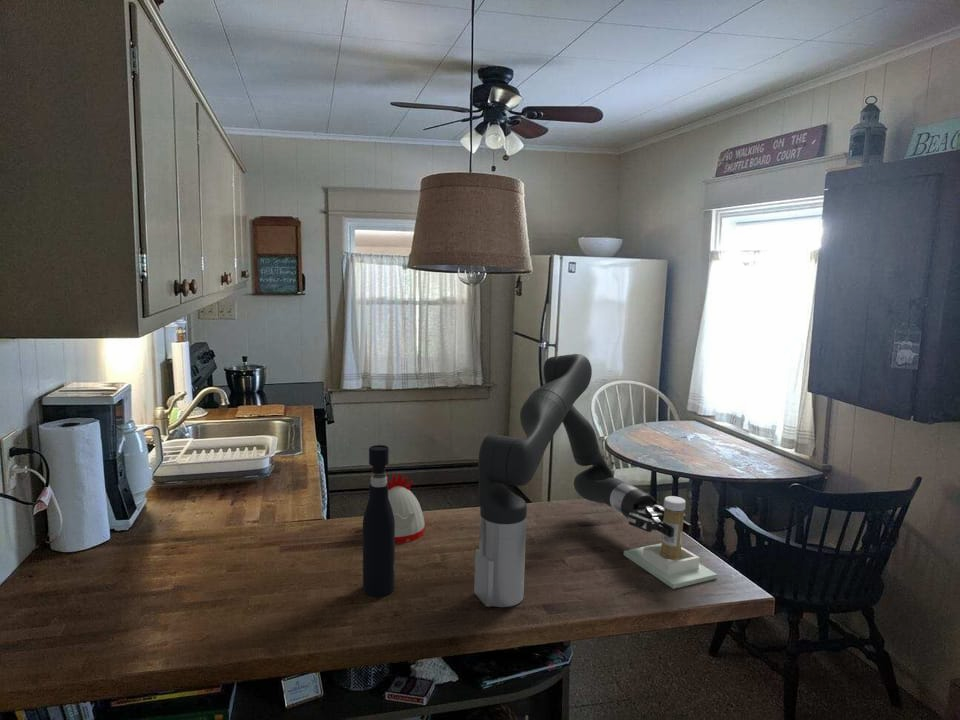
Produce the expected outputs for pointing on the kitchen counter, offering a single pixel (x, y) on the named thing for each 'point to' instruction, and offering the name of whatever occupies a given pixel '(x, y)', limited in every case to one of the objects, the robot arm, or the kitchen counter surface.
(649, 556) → the socket board
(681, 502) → the spice jar
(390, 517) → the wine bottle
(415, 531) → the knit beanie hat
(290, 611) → the kitchen counter surface
